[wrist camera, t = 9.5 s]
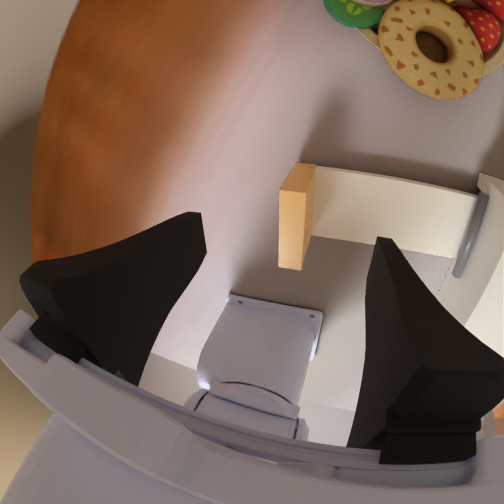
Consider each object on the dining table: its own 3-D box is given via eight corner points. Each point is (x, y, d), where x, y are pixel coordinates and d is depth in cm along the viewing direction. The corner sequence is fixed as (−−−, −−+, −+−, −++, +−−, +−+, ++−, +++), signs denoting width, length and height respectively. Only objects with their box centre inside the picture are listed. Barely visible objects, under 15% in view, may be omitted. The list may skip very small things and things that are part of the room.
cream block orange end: (294, 226, 21) (278, 266, 17) (296, 162, 18) (279, 190, 14) (472, 255, 17) (490, 299, 13) (491, 198, 14) (521, 234, 10)
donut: (453, 392, 27) (453, 458, 19) (473, 381, 25) (478, 450, 17) (477, 408, 28) (478, 464, 20) (495, 399, 26) (498, 456, 18)
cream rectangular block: (402, 348, 25) (402, 398, 21) (470, 169, 14) (508, 208, 10) (487, 355, 22) (494, 399, 17) (567, 206, 11) (602, 245, 6)
